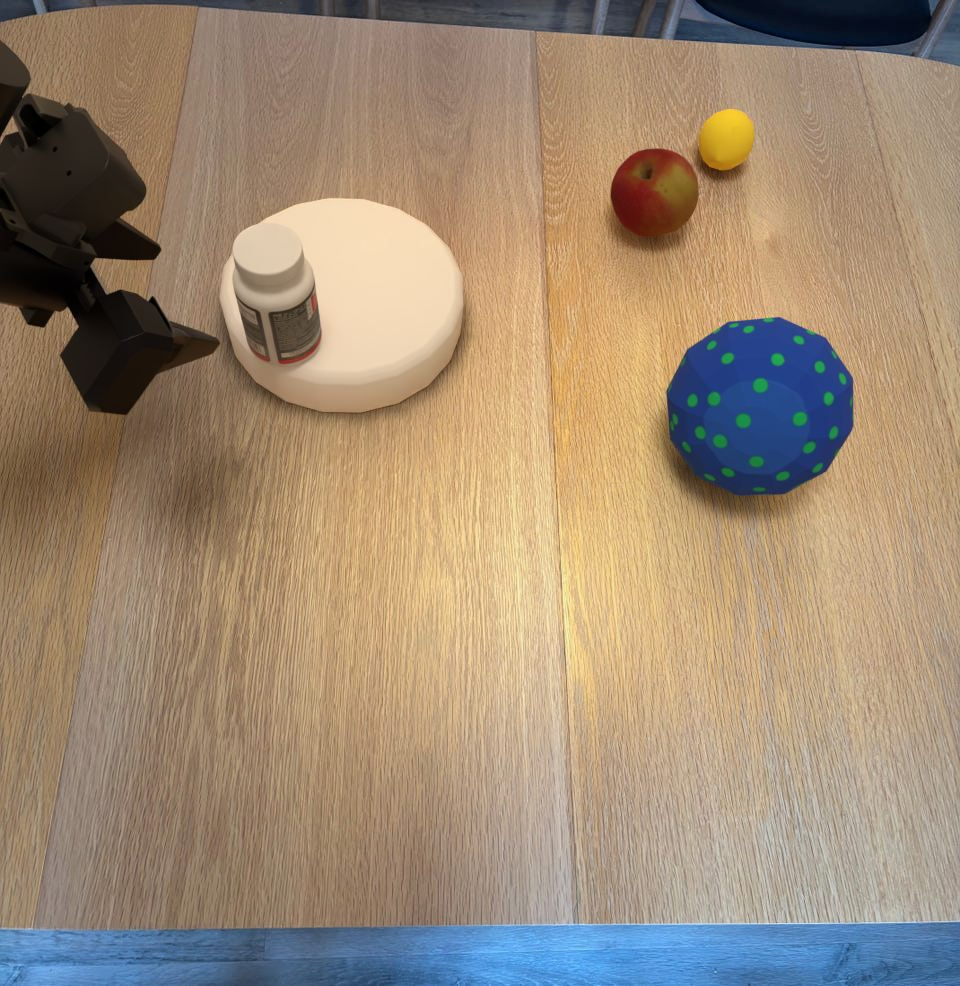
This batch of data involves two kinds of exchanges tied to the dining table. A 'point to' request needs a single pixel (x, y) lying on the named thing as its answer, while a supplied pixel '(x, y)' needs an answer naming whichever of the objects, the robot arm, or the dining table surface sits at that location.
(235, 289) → the pill bottle
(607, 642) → the dining table surface
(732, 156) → the lemon
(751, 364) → the green-spotted blue ball
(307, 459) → the dining table surface
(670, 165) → the apple
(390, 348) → the container
